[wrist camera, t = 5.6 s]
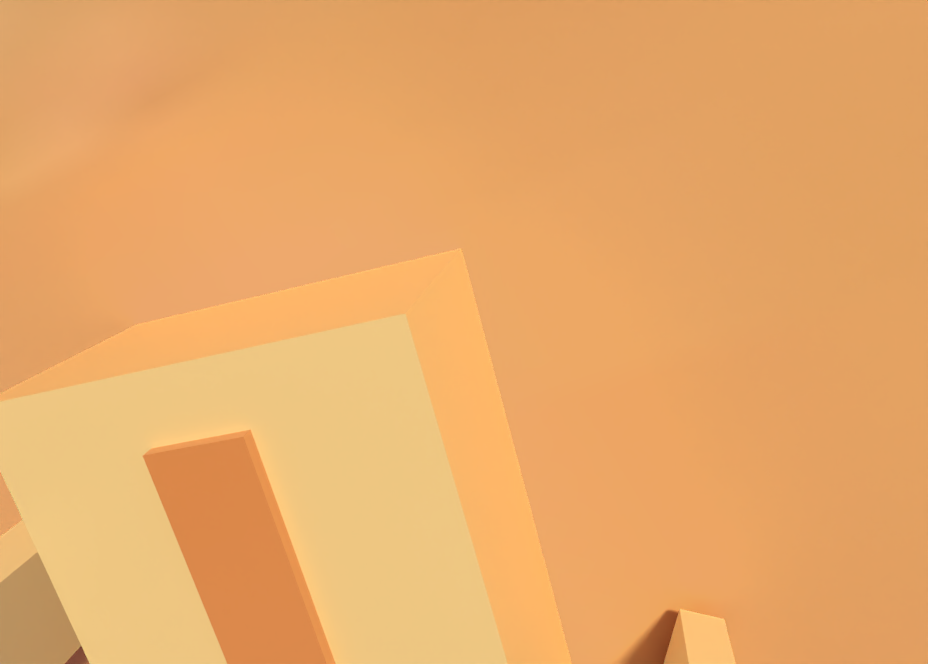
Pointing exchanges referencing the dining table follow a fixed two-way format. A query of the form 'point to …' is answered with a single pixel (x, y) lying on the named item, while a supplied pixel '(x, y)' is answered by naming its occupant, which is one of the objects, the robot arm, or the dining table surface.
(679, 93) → the dining table surface
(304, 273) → the dining table surface
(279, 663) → the cream striped block
